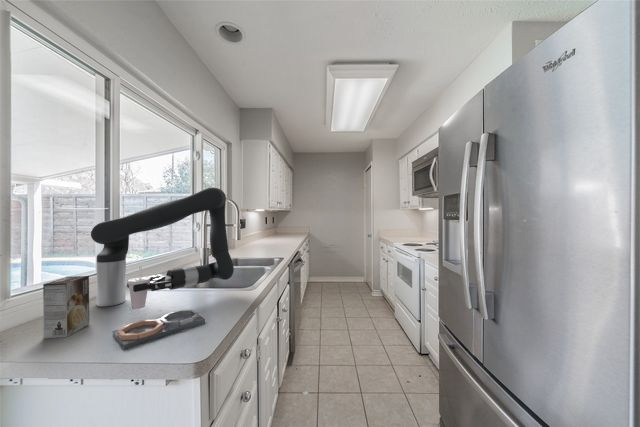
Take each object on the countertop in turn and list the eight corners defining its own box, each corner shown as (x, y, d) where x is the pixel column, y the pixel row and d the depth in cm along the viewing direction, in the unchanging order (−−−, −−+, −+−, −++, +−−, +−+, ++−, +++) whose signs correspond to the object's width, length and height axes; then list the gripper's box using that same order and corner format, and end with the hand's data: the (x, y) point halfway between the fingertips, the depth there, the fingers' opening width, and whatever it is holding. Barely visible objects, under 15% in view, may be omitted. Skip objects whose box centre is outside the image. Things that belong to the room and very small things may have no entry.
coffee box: (67, 325, 84) (67, 276, 84) (89, 324, 85) (90, 275, 85) (42, 339, 75) (42, 283, 75) (67, 337, 76) (67, 282, 76)
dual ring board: (112, 336, 76) (112, 331, 76) (189, 314, 93) (189, 310, 93) (124, 350, 69) (124, 344, 69) (205, 323, 86) (205, 318, 86)
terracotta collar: (114, 331, 76) (114, 327, 76) (154, 320, 84) (154, 316, 84) (124, 343, 69) (124, 339, 69) (167, 329, 77) (167, 325, 77)
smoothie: (138, 311, 85) (138, 269, 84) (121, 309, 86) (122, 267, 86) (154, 304, 91) (154, 265, 91) (139, 303, 92) (139, 264, 92)
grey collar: (156, 320, 84) (156, 316, 84) (189, 310, 93) (189, 307, 93) (169, 329, 78) (169, 325, 78) (203, 318, 86) (203, 314, 86)
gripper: (175, 265, 104) (124, 272, 91) (191, 270, 95) (137, 279, 82) (174, 283, 104) (123, 293, 91) (190, 291, 95) (136, 302, 82)
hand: (130, 286), depth 86 cm, fingers closed on smoothie, 6 cm apart
